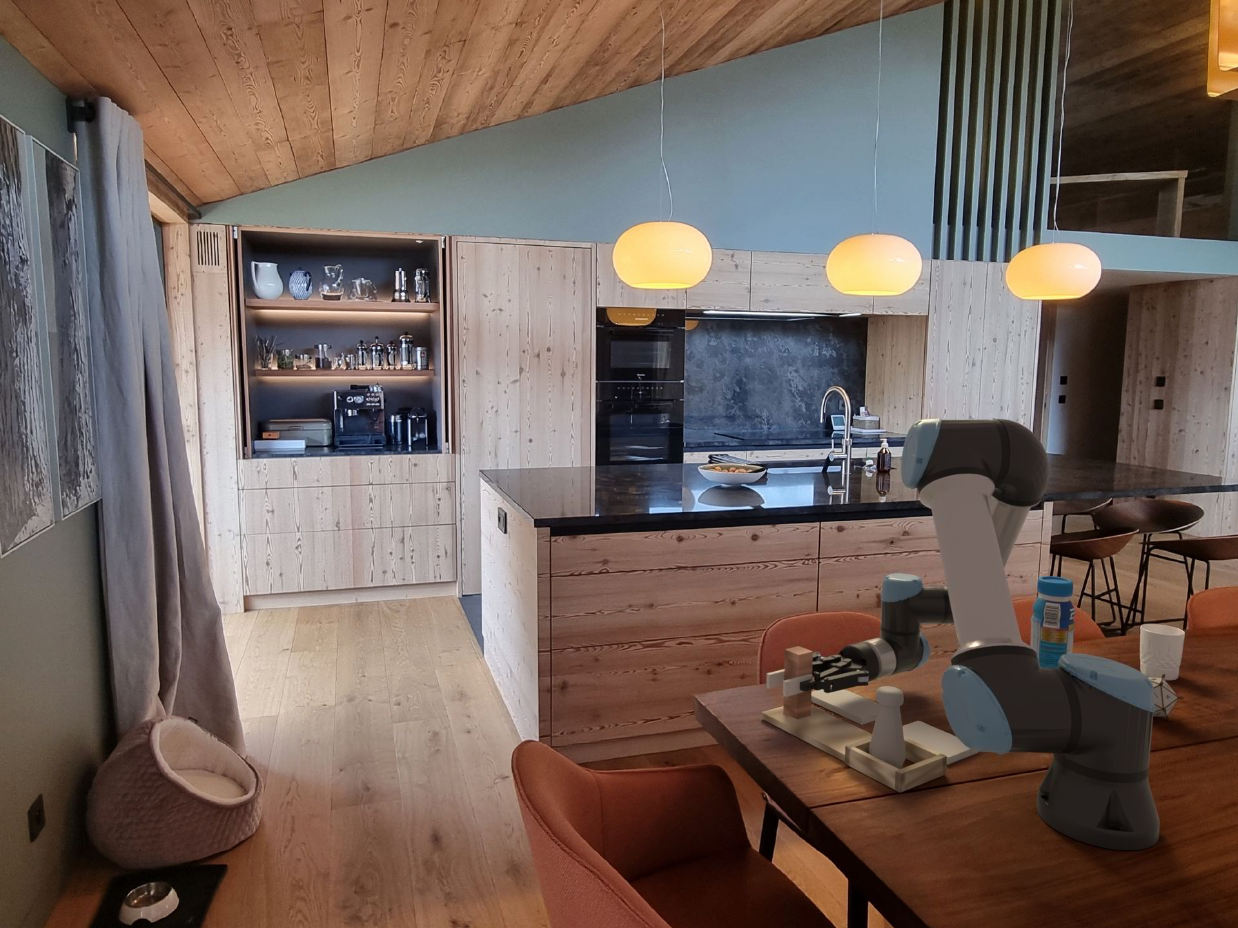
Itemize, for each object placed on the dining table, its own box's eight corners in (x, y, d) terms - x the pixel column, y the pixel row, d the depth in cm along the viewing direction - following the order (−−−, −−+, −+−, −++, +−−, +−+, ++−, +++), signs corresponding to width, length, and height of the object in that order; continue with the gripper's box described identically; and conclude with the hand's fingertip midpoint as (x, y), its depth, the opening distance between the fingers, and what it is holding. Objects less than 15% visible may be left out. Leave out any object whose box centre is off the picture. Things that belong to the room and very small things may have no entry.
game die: (1159, 740, 152) (1180, 712, 145) (1110, 713, 156) (1129, 685, 149) (1174, 706, 156) (1196, 678, 149) (1127, 681, 161) (1145, 652, 154)
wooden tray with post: (946, 774, 130) (950, 694, 129) (900, 792, 124) (903, 708, 123) (802, 706, 157) (804, 639, 155) (759, 718, 151) (761, 649, 149)
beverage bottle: (1019, 665, 180) (1024, 576, 178) (1049, 661, 183) (1055, 573, 181) (1049, 678, 172) (1055, 585, 170) (1081, 674, 175) (1087, 582, 173)
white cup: (1128, 671, 177) (1132, 626, 176) (1151, 666, 180) (1155, 621, 179) (1166, 683, 170) (1169, 637, 169) (1189, 678, 173) (1193, 632, 172)
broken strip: (978, 752, 138) (978, 745, 138) (948, 764, 134) (948, 757, 134) (834, 690, 165) (834, 684, 165) (805, 698, 161) (806, 693, 161)
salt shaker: (865, 769, 132) (867, 691, 131) (871, 755, 137) (873, 679, 136) (903, 777, 129) (906, 697, 128) (908, 762, 135) (911, 685, 133)
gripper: (900, 694, 153) (809, 721, 140) (832, 667, 167) (744, 690, 154) (901, 655, 152) (810, 679, 139) (834, 631, 166) (745, 651, 153)
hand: (776, 684), depth 147 cm, fingers closed on wooden tray with post, 3 cm apart
